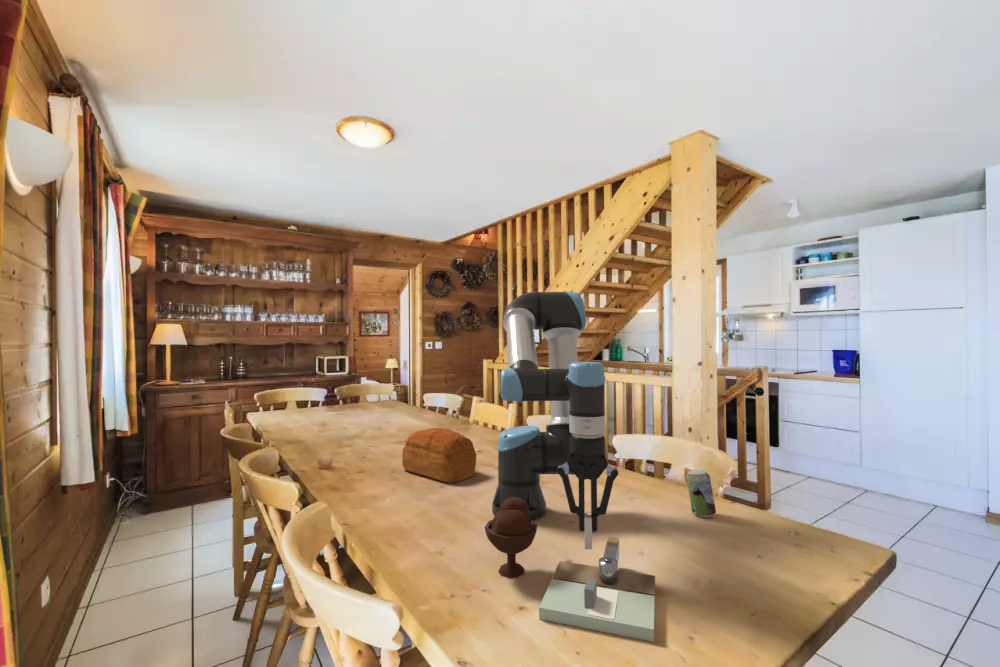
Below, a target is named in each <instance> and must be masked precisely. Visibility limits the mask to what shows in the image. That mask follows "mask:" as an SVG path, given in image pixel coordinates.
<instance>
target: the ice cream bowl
mask: <svg viewBox="0 0 1000 667" xmlns="http://www.w3.org/2000/svg"><path fill="white" fill-rule="evenodd" d="M537 530H538V524H537V523H536V522H535V521H534V520H531V519H530V517H529V507H528V505H527V503H526V502H525V501H524V500H523V499H521V498H517V497H512V498H508V499H507V500H505V501H504V502H503V503H502V504H501V506H500V511H499V512H497V513H496V515H493V518H492V519H491V520H488V521H487V523H486V525H485V526H484V531H485V534H486V538H487V539H488V541H489V542H490V543H491V544H492V546H493V547H494V548H495V549H497V550H498V551H499V552H501V553H504V554H506V555H507V557H506V558H507V561H506V562H505V563H503V564H501V565H500V567H499V569H498V574H499V575H500V576H501V577H504V578H507V579H516V578H517V579H518V578H519V577H520V578H521V577H522V576H524V574H525V571H526V570H525V567H523V566H522V564H520V563H518V562H516V561H517V559H516V555H517V554H519V553H522V552H524V551H526V550H527V549H528V548H529V547H530V546H531V545H532V544H533V542H534V539H535V537H536V534H537Z"/></svg>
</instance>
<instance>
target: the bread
mask: <svg viewBox="0 0 1000 667" xmlns="http://www.w3.org/2000/svg"><path fill="white" fill-rule="evenodd" d="M401 460H402V461H401V465H402V466H403V468H404V470H405V471H407V472H410V473H414V474H416V475H420V476H424V477H428V478H430V479H434V480H437V481H441V482H443V483H449V484H452V483H458V482H461V481H464V480H467V479H470V478H473V477H474V476H475V473H476V466H477V452H476V450H475V446H474V443H473V441H472V440H471V439H470V438H468V437H466V436H465V435H464V434H461V433H459V432H457V431H455V430H452V429H449V428H444V427H431V428H426V429H421V430H417V431H413V433H411V434H410V435H409V436H407V438H406V439H405V444H404V447H403V448H402V454H401Z"/></svg>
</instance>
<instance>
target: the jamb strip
mask: <svg viewBox="0 0 1000 667" xmlns="http://www.w3.org/2000/svg"><path fill="white" fill-rule="evenodd" d="M587 578H593V579H597V587H603V588H609V589H615V590H621V591H627V592H633V593H639V594H645V595H651V596H655V597H656V575H653V574H652V575H651V574H647V573H646V574H645V573H639V572H633V571H625V570H620V569H618V581H617V582H614V583H607V582H603V581H601V580H600V579H599V566H594V565H588V564H582V563H576V562H575V563H574V562H568V561H563V560H559V562H558V563H557V566H556V568H555V571H554V573H553V575H552V578H551V579H556V580H562V581H568V582H574V583H580V584H586V582H587Z"/></svg>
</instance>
